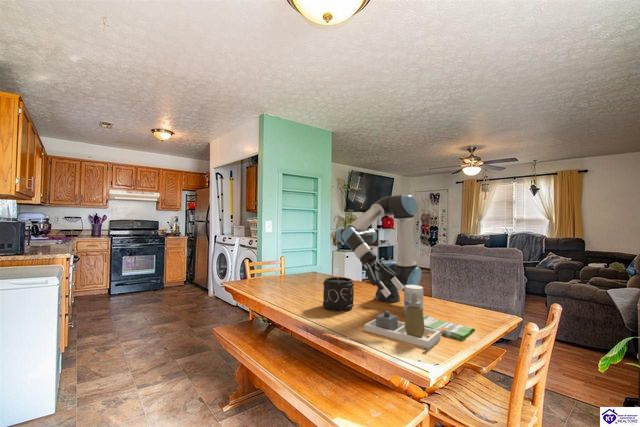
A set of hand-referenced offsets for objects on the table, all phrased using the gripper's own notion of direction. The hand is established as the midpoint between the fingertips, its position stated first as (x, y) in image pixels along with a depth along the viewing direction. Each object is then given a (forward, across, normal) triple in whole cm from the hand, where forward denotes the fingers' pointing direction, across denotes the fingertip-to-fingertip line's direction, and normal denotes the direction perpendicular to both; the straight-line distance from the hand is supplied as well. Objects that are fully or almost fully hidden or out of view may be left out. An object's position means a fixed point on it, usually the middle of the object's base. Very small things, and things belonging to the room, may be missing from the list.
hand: (395, 292), depth 130 cm
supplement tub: (+10, -32, -16) cm, 37 cm away
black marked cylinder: (-17, -16, -43) cm, 49 cm away
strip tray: (+14, 0, -11) cm, 18 cm away
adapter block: (+9, 0, -15) cm, 17 cm away
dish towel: (+23, -20, -4) cm, 31 cm away
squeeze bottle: (+18, 0, -6) cm, 19 cm away
